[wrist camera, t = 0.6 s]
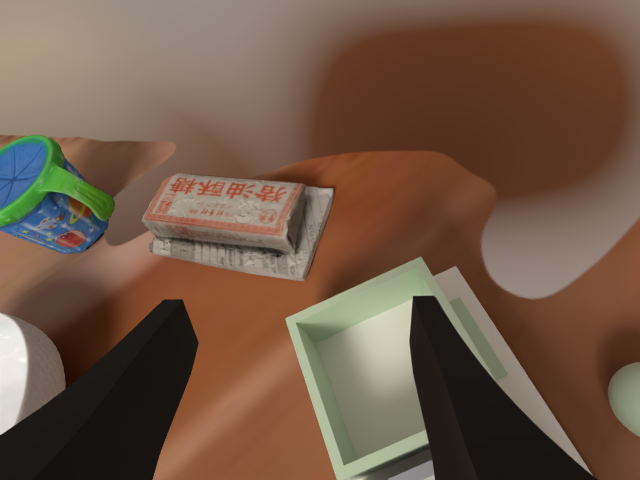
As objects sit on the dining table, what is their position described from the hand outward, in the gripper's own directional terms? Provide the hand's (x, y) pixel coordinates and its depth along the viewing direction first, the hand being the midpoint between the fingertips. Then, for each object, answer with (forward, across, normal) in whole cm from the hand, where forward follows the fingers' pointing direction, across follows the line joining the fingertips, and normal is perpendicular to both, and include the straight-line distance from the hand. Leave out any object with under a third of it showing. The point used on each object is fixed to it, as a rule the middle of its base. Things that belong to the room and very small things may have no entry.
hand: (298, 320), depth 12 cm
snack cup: (+29, +30, +14) cm, 44 cm away
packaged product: (+25, +10, +13) cm, 30 cm away
